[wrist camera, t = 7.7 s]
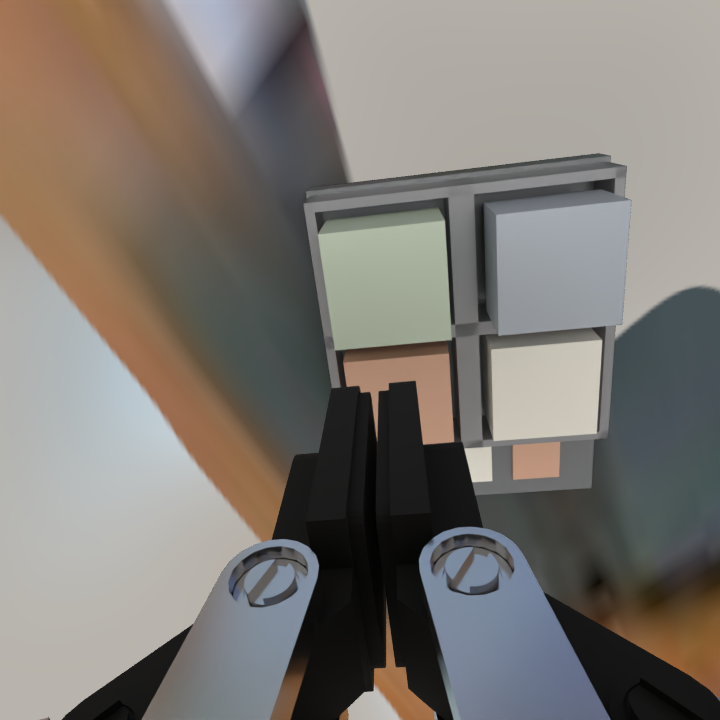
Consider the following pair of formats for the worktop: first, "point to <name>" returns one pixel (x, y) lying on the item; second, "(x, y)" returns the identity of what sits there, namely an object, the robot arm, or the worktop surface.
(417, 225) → the sage key
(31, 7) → the worktop surface
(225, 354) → the worktop surface
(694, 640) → the worktop surface
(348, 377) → the terracotta key
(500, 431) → the ivory key
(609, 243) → the slate key
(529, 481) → the keypad board
